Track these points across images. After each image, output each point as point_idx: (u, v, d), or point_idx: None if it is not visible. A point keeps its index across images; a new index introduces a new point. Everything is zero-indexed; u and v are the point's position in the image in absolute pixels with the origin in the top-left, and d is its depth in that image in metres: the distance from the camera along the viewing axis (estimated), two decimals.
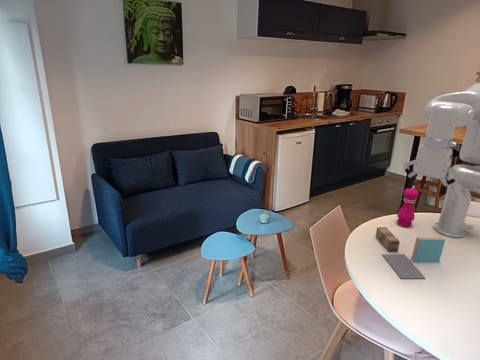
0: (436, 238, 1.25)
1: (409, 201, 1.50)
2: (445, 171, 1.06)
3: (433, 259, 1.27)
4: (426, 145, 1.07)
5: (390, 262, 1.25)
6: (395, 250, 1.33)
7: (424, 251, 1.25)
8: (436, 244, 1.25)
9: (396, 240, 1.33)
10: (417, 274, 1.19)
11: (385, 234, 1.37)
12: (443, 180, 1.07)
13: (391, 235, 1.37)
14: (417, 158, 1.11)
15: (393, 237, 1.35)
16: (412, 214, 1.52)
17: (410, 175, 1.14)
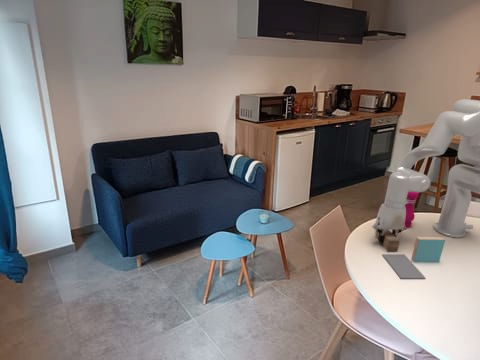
0: (436, 238, 1.25)
1: (409, 201, 1.50)
2: None
3: (433, 259, 1.27)
4: (392, 207, 1.30)
5: (390, 262, 1.25)
6: (395, 250, 1.33)
7: (424, 251, 1.25)
8: (436, 244, 1.25)
9: (396, 240, 1.33)
10: (417, 274, 1.19)
11: (385, 233, 1.37)
12: (397, 231, 1.35)
13: (390, 234, 1.37)
14: (384, 218, 1.32)
15: (393, 237, 1.35)
16: (412, 214, 1.52)
17: (382, 234, 1.36)
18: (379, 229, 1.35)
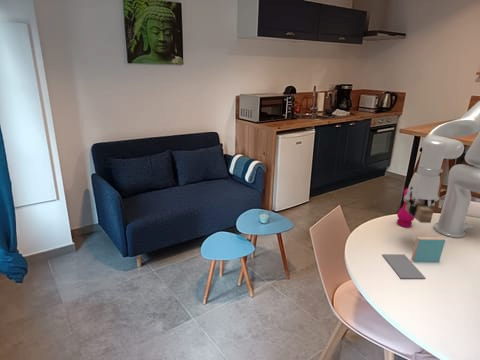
0: (436, 238, 1.25)
1: None
2: (437, 193, 1.28)
3: (433, 259, 1.27)
4: (426, 175, 1.24)
5: (390, 262, 1.25)
6: (428, 220, 1.28)
7: (424, 251, 1.25)
8: (436, 244, 1.25)
9: (429, 210, 1.27)
10: (417, 274, 1.19)
11: (417, 204, 1.32)
12: (429, 202, 1.30)
13: (423, 205, 1.31)
14: (417, 187, 1.27)
15: (426, 207, 1.29)
16: None
17: (415, 204, 1.30)
18: (411, 199, 1.30)
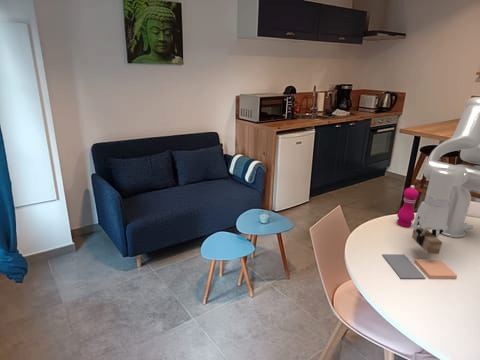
0: (448, 278, 1.18)
1: (409, 201, 1.50)
2: (446, 222, 1.23)
3: None
4: (434, 205, 1.19)
5: (390, 262, 1.25)
6: (436, 251, 1.23)
7: None
8: None
9: (438, 240, 1.22)
10: (417, 274, 1.19)
11: (424, 234, 1.27)
12: (438, 231, 1.25)
13: (431, 235, 1.26)
14: (424, 217, 1.22)
15: (434, 237, 1.24)
16: (412, 214, 1.52)
17: (422, 234, 1.25)
18: (418, 229, 1.25)
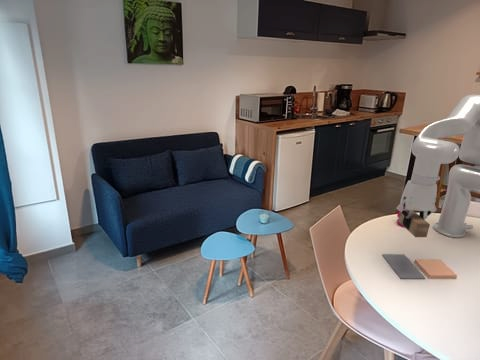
0: (448, 277, 1.18)
1: None
2: (434, 203, 1.13)
3: None
4: (421, 184, 1.09)
5: (390, 262, 1.25)
6: (424, 234, 1.12)
7: None
8: None
9: (425, 223, 1.12)
10: (417, 274, 1.19)
11: (411, 216, 1.17)
12: (425, 213, 1.15)
13: (418, 217, 1.16)
14: (411, 197, 1.12)
15: (421, 219, 1.14)
16: None
17: (409, 216, 1.15)
18: (405, 211, 1.15)
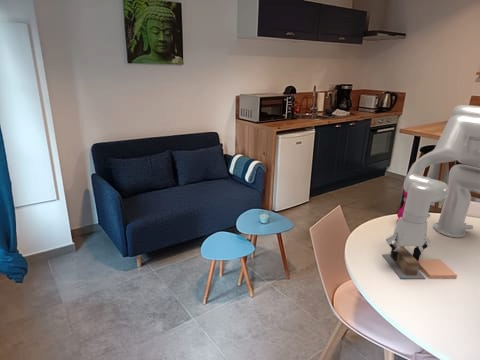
0: (448, 277, 1.18)
1: None
2: (425, 239, 1.18)
3: None
4: (412, 222, 1.14)
5: (390, 262, 1.25)
6: (414, 273, 1.18)
7: None
8: None
9: (415, 261, 1.17)
10: (417, 274, 1.19)
11: (402, 253, 1.22)
12: (420, 247, 1.20)
13: (408, 255, 1.21)
14: (402, 233, 1.17)
15: (411, 258, 1.20)
16: None
17: (396, 249, 1.20)
18: (392, 244, 1.19)
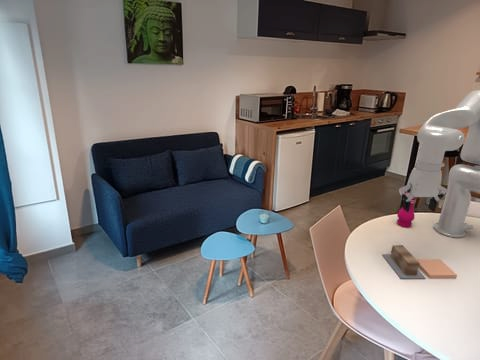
0: (448, 277, 1.18)
1: None
2: (439, 189, 1.16)
3: None
4: (426, 171, 1.12)
5: (390, 262, 1.25)
6: (414, 273, 1.18)
7: None
8: None
9: (415, 261, 1.17)
10: (417, 274, 1.19)
11: (402, 253, 1.22)
12: (436, 197, 1.18)
13: (408, 255, 1.21)
14: (416, 183, 1.15)
15: (411, 258, 1.20)
16: (412, 214, 1.52)
17: (408, 199, 1.18)
18: (404, 194, 1.18)
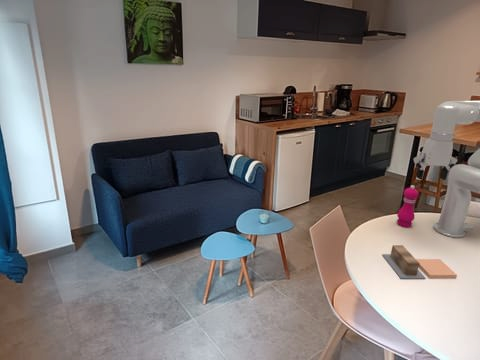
0: (448, 277, 1.18)
1: (409, 201, 1.50)
2: (450, 159, 1.29)
3: None
4: (439, 140, 1.25)
5: (390, 262, 1.25)
6: (414, 273, 1.18)
7: None
8: None
9: (415, 261, 1.17)
10: (417, 274, 1.19)
11: (402, 253, 1.22)
12: (447, 166, 1.31)
13: (408, 255, 1.21)
14: (430, 152, 1.28)
15: (411, 258, 1.20)
16: (412, 214, 1.52)
17: (422, 168, 1.30)
18: (418, 163, 1.30)
